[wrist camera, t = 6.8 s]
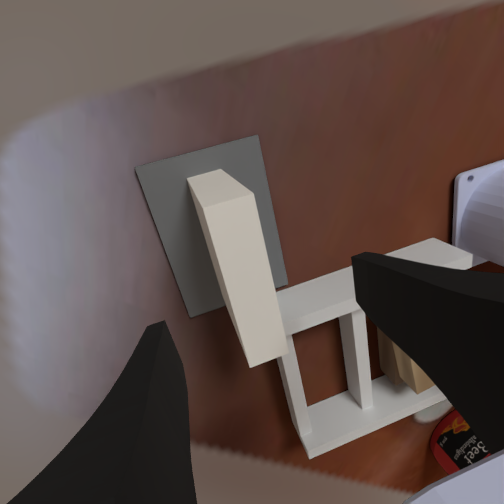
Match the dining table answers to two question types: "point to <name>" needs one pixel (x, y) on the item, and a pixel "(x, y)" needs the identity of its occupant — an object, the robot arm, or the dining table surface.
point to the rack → (350, 356)
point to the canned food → (456, 444)
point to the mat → (187, 221)
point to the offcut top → (411, 372)
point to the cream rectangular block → (240, 263)
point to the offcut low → (388, 358)
